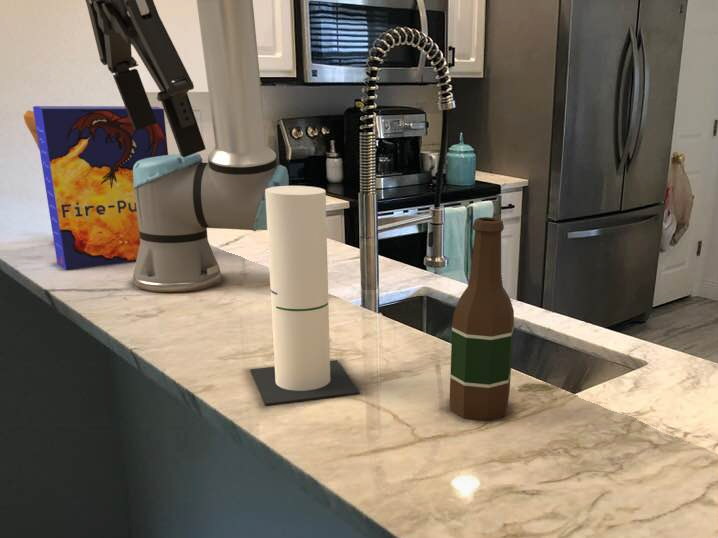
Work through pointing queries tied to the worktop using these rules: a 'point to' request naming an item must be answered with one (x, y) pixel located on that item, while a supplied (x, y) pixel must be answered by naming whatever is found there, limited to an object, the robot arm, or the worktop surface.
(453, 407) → the beer bottle
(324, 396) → the mat
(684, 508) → the worktop surface
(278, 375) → the cylindrical container
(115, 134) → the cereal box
